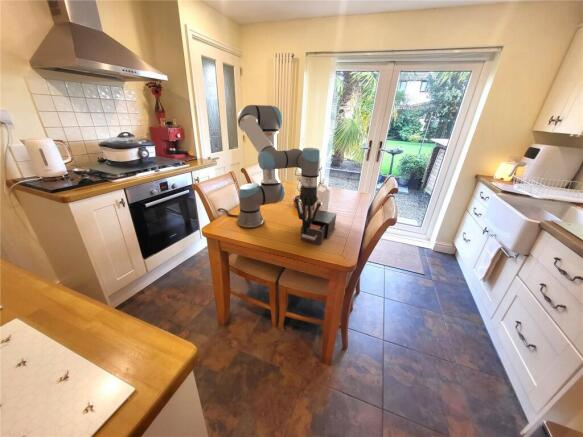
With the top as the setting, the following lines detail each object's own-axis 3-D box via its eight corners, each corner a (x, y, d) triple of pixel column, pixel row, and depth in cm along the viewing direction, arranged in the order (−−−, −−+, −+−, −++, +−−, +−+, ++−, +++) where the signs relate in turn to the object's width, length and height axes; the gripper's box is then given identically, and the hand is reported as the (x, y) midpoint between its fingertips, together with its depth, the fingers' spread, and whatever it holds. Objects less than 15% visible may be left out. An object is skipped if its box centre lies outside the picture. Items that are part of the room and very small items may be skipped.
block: (307, 237, 124) (307, 228, 121) (310, 233, 128) (311, 224, 126) (316, 239, 122) (317, 230, 119) (320, 235, 126) (321, 226, 124)
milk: (320, 220, 148) (323, 187, 138) (313, 217, 152) (316, 184, 143) (327, 218, 151) (330, 185, 142) (320, 214, 156) (323, 183, 146)
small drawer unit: (327, 239, 127) (328, 223, 123) (305, 233, 132) (306, 218, 127) (334, 228, 139) (336, 213, 135) (314, 223, 144) (315, 209, 139)
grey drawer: (317, 249, 116) (319, 235, 112) (296, 243, 120) (297, 230, 117) (328, 234, 130) (330, 221, 127) (309, 229, 135) (310, 217, 131)
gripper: (292, 185, 100) (290, 233, 110) (320, 190, 96) (316, 240, 105) (299, 181, 107) (296, 227, 117) (326, 185, 102) (321, 233, 112)
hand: (306, 233), depth 111 cm, fingers closed
